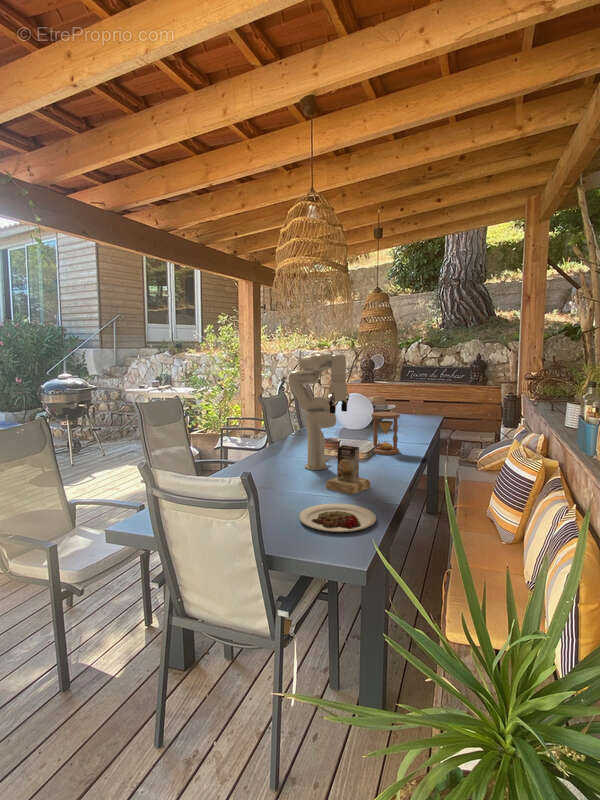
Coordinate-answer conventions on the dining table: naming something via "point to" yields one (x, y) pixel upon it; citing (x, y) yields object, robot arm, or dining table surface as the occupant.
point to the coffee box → (348, 463)
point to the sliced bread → (348, 485)
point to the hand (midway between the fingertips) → (338, 412)
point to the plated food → (337, 517)
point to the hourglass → (385, 425)
